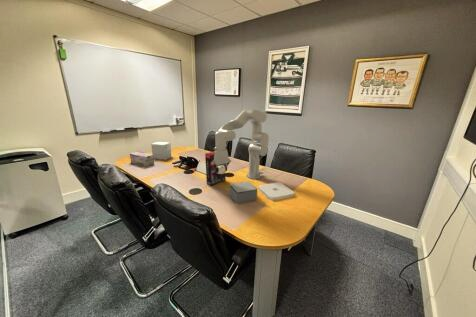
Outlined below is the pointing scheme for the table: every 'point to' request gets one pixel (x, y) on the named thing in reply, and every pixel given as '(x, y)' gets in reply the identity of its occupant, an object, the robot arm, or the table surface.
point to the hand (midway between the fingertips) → (221, 171)
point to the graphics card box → (213, 170)
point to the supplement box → (161, 150)
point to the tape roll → (221, 169)
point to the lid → (243, 187)
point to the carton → (242, 195)
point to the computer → (275, 191)
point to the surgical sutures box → (142, 158)
